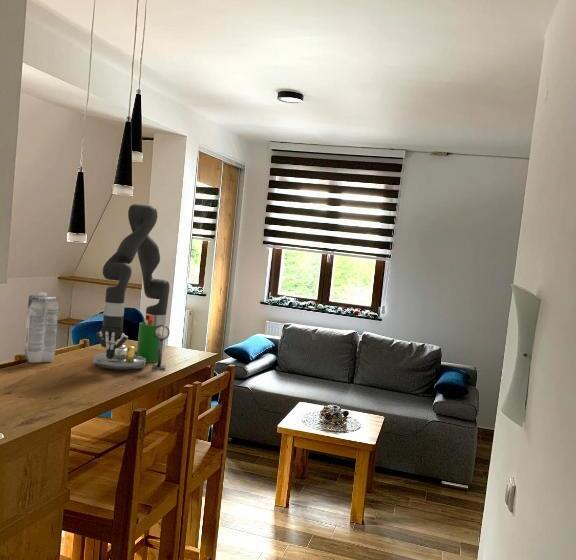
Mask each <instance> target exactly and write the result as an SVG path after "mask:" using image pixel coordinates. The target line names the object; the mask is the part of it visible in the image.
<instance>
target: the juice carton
mask: <svg viewBox="0 0 576 560" xmlns="http://www.w3.org/2000/svg"><path fill="white" fill-rule="evenodd" d="M27 300H28V303H27V311H26V322H25V323H26V324H25V336H24V337H25V338H24V340H25V341H24V355H25V356H24V357H25V359H26V360H27V361H28V362H29V363H33V364H34V363H37V364H38V363H52V362H53V360H54V357H55V353H56V342H57V330H58V318H59V317H58V316H59V298H57V297H55V296H54V295H47V292H38V295H34V294H33V295H32V294H31V295H29V296H28V299H27Z"/></svg>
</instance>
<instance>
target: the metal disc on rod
mask: <svg viewBox="0 0 576 560" xmlns="http://www.w3.org/2000/svg"><path fill="white" fill-rule="evenodd" d="M170 332H171V331H170V328H169V327H168V326H167V325H166V324H165V325H159V326H157V327H156V328H155V331H154V334H155V337H156V338H157V339H159V349H158V360H157V362H156V364H152V369H151V370H154V371H166V365H165V364H162V359H163V358H162V357H163V351H162V349H163V340H165V341H166V340H167V339H168V338H169V336H170Z"/></svg>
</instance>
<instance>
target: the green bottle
mask: <svg viewBox="0 0 576 560" xmlns="http://www.w3.org/2000/svg"><path fill="white" fill-rule="evenodd" d="M145 317H146V319H145V318H144V319H145V320H148V325H146V322H145V321H142V322H139V328H138V337H137V348H136V349H137V350H136V354H137V355H141V356H143V357H145V358H146V363H157V360H158V349H159V339H157V338H156V337H155V334H154V331H155V328H156V327H157V326H154V325H153V315H150V314H147V315H146V314H145Z"/></svg>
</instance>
